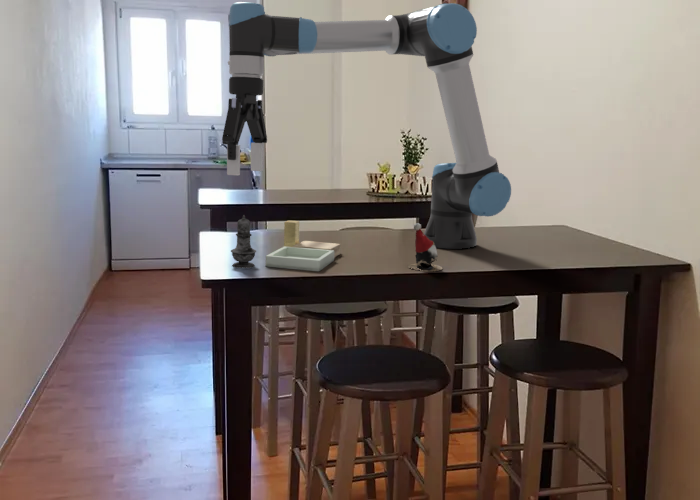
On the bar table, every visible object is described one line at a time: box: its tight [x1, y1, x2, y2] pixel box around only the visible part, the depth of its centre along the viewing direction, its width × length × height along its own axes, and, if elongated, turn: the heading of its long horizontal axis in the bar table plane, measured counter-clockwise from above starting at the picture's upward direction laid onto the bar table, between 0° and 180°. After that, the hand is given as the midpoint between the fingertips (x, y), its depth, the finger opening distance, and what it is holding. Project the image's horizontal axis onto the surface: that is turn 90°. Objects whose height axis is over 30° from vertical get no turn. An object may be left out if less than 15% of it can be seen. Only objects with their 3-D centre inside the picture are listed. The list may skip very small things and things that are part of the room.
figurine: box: [407, 222, 443, 273], centre depth 168 cm, size 8×10×12 cm
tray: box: [265, 245, 335, 272], centre depth 169 cm, size 13×13×2 cm
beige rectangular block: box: [293, 240, 342, 258], centre depth 181 cm, size 10×8×3 cm
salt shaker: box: [230, 214, 257, 269], centre depth 164 cm, size 6×6×12 cm
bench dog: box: [283, 220, 300, 247], centre depth 182 cm, size 3×3×8 cm
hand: (245, 173), depth 161 cm, fingers open, 13 cm apart
